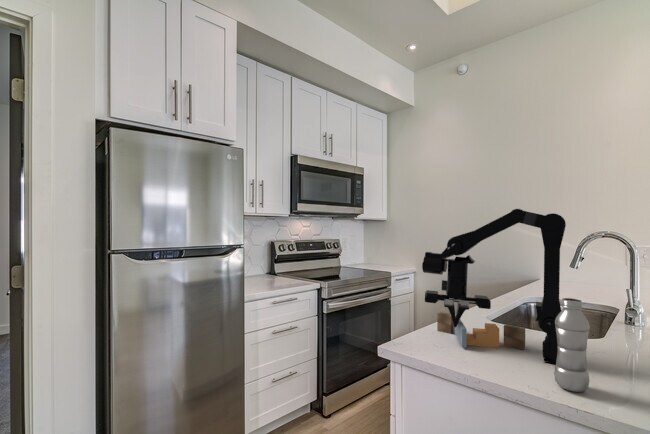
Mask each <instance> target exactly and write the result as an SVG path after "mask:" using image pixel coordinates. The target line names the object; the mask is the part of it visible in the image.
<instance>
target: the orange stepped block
mask: <svg viewBox="0 0 650 434" xmlns="http://www.w3.org/2000/svg"><path fill="white" fill-rule="evenodd" d="M466 346H479V347H490V348H500V328H499V327H498V325H497V324H496V323H490V322H489V323H488V322H485V323H484V328H481V327H480V328H479V327H477V328H476V327H472V333H466Z"/></svg>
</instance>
